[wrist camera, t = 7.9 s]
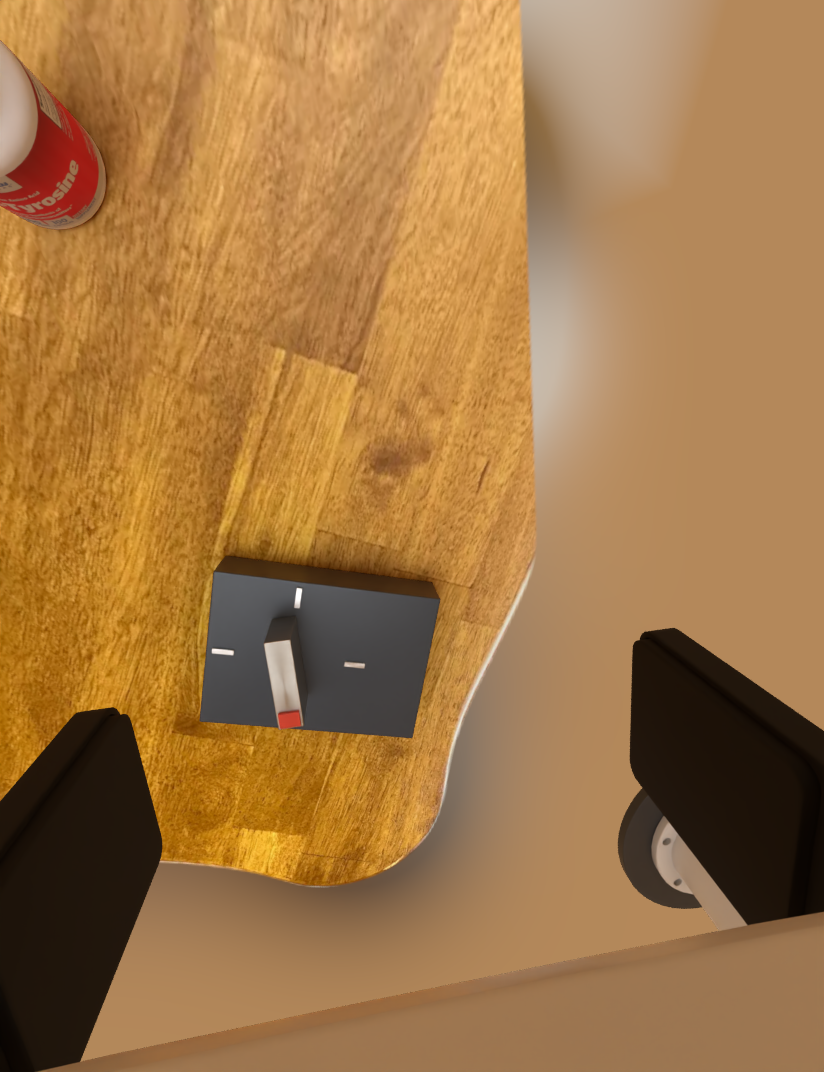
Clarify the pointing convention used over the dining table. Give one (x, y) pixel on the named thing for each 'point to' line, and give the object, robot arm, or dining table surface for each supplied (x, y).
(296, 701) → the gray slab
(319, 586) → the rotary switch block
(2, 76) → the pill bottle
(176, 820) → the dining table surface
